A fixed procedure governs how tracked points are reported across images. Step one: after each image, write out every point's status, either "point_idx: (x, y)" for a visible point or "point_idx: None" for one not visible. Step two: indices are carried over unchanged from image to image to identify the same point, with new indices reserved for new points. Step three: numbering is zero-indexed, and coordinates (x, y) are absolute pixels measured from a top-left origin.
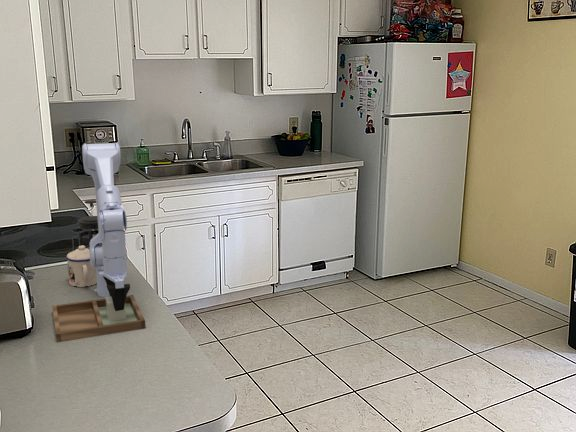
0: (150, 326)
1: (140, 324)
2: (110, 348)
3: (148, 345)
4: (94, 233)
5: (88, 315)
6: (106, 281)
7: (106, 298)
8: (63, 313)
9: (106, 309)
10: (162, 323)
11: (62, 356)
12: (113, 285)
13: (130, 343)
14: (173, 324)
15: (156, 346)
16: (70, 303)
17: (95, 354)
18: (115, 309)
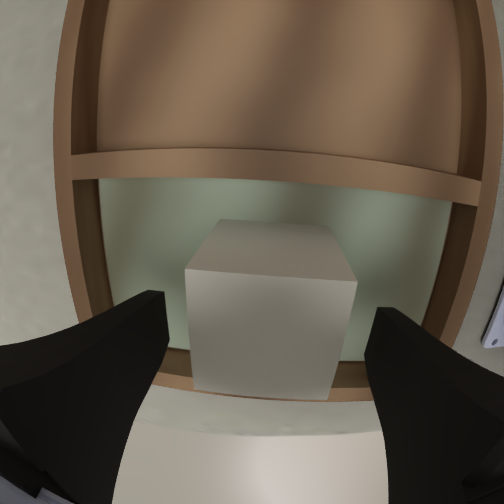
0: None
1: None
2: (20, 186)
3: (29, 309)
4: None
5: (377, 123)
6: (462, 402)
7: (319, 284)
8: (447, 20)
9: (316, 239)
10: (175, 403)
11: (30, 20)
12: (8, 447)
13: (40, 263)
14: (159, 420)
15: (26, 326)
16: (498, 59)
17: (2, 132)
18: (139, 295)
